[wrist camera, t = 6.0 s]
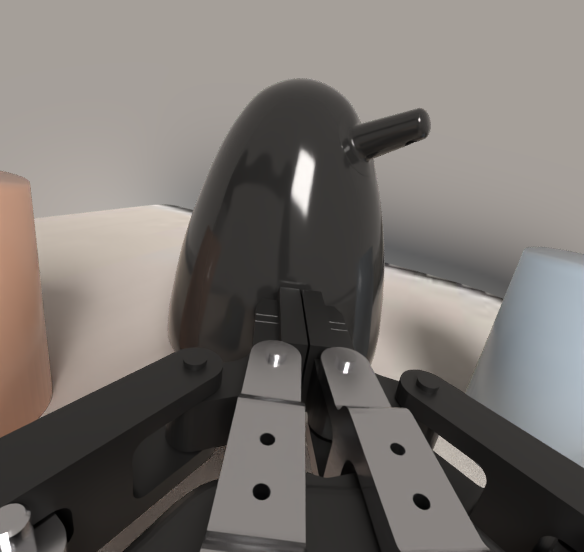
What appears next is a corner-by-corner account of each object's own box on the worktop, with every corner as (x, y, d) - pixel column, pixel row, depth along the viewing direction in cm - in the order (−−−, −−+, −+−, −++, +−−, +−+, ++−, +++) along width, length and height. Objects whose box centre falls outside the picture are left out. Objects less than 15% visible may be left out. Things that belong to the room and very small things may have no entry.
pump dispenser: (285, 519, 13) (378, 34, 9) (121, 386, 19) (123, 43, 14) (392, 396, 22) (472, 109, 17) (256, 328, 27) (286, 97, 22)
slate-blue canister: (434, 435, 20) (504, 255, 16) (478, 392, 24) (543, 241, 20) (565, 527, 16) (700, 320, 12) (591, 458, 20) (698, 286, 16)
